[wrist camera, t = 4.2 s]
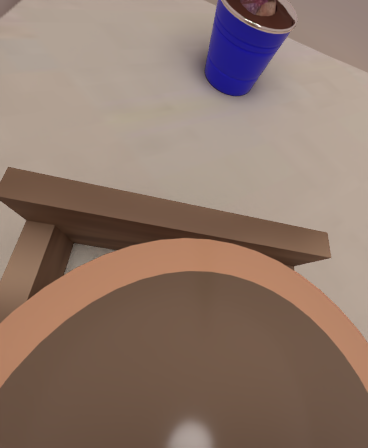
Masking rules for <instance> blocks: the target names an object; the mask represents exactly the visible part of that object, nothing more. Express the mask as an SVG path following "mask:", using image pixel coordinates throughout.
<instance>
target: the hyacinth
mask: <svg viewBox="0 0 368 448" xmlns="http://www.w3.org/2000/svg"><path fill="white" fill-rule="evenodd" d="M296 24H297V14H296V11H295V9H294V8H293V6H292V5H291V3H290V2H289V1H288V0H218V3H217V9H216V13H215V19H214V24H213V29H212V35H211V40H210V45H209V51H208V56H207V62H206V67H205V75H206V78H207V79H208V81H209V82H210V84H211V85H212V86H213V87H215V88H216V89H217V90H219V91H221V92H223V93H225V94H228V95H232V96H241V95H245V94H246V93H248V92H249V91H250V89H251V88H252V86H253V85H254V83H255V82H256V80H257V79H258V78H259V76H260V75H261V73H262V72H263V71H264V69H265V68H266V66H267V65H268V63H269V62H270V60H271V59H272V57H273V56H274V54H275V53H276V51H277V50H278V48H279V47H280V46H281V44H282V43H283V42H284V40H285V39H286V37H287V36H288V34H289V33H290V32H291V31H292V30H293V29H294V28H295V26H296Z"/></svg>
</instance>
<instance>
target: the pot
mask: <svg viewBox="0 0 368 448" xmlns="http://www.w3.org/2000/svg"><path fill="white" fill-rule="evenodd" d="M0 448H368V343H367V341H366V340H365V338H364V337H363V336H362V334H361V333H360V331H359V330H358V329H357V328H356V327H355V326H354V324H353V323H352V322H351V321H350V320H349V319H348V317H347V316H346V315H345V314H344V313H343V312H342V310H341V309H340V308H339V307H338V306H337V305H335V304H334V303H333V302H332V301H331V300H330V299H329V298H328V297H327V296H326V295H325V294H324V293H323V292H322V291H321V290H320V289H318V288H317V287H316V286H314V285H313V284H312V283H311V282H309V281H308V280H307V279H305V278H304V277H303V276H301V275H300V274H299V273H297V272H295V271H294V270H292V269H290V268H289V267H287V266H285V265H284V264H282V263H281V262H279V261H277V260H275V259H272V258H270V257H268V256H266V255H264V254H262V253H259V252H257V251H254V250H251V249H248V248H245V247H242V246H239V245H236V244H232V243H226V242H221V241H215V240H210V239H193V238H179V239H166V240H157V241H152V242H147V243H142V244H137V245H132V246H129V247H126V248H123V249H120V250H117V251H114V252H111V253H108V254H105V255H103V256H100V257H98V258H96V259H94V260H92V261H90V262H88V263H86V264H83V265H81V266H79V267H77V268H75V269H73V270H72V271H70V272H68V273H67V274H65V275H64V276H62V277H60V278H59V279H57V280H55V281H54V282H52V283H50V284H49V285H47V286H46V287H44V288H43V289H41V290H40V291H39V292H38V293H36V294H35V295H34V296H32V297H31V298H30V299H28V300H27V301H26V302H25V303H23V304H22V305H21V306H19V307H18V308H17V309H15V310H14V311H13V312H12V313H11V314H10V315H9V316H8V317H6V318H5V319H4V320H3V321H2V322H1V323H0Z"/></svg>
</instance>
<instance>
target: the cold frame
mask: <svg viewBox="0 0 368 448" xmlns="http://www.w3.org/2000/svg"><path fill="white" fill-rule="evenodd" d="M0 201H1V202H3V203H4V204H6V205H7V206H8V207H10V208H11V209H12V210H14V211H15V212H16V213H18V214H19V215H20V216H22V217H23V218H24V219H26V223H25V225H24V227H23V230H22V232H21V234H20V237H19V239H18V241H17V244H16V246H15V248H14V251H13V253H12V255H11V258H10V260H9V262H8V265H7V267H6V269H5V272H4V274H3V276H2V279H1V281H0V323H1V322H2V321H3V320H4V319H5V318H6V317H8V316H9V315H10V314H11V313H12V312H13V311H14V310H15V309H17V308H18V307H19V306H21V305H22V304H23V303H25V302H26V301H27V300H28V299H30V298H31V297H32V296H34V295H35V294H36V293H38V292H39V291H40V290H41V289H43V288H44V287H46V286H47V285H49V284H50V283H52V282H54V281H55V280H57V279H59V278H60V277H62V276H63V275H64V272H65V269H66V265H67V262H68V259H69V256H70V253H71V250H72V247H73V244H74V243H77V244H83V245H89V246H96V247H102V248H108V249H114V250H120V249H123V248H126V247H129V246H132V245H137V244H142V243H147V242H152V241H157V240H166V239H179V238H193V239H210V240H215V241H221V242H226V243H232V244H236V245H239V246H242V247H245V248H248V249H251V250H254V251H257V252H259V253H262V254H264V255H266V256H268V257H270V258H272V259H275V260H277V261H279V262H281V263H282V264H284V265H285V266H287V267H289V268H290V269H292V270H294V266H297V265H301V264H306V263H310V262H315V261H319V260H324V259H328V258H331V253H330V247H329V240H328V233H326V232H321V231H317V230H312V229H307V228H302V227H297V226H292V225H287V224H283V223H278V222H273V221H268V220H263V219H258V218H253V217H249V216H244V215H239V214H234V213H229V212H224V211H219V210H215V209H210V208H205V207H200V206H195V205H190V204H185V203H181V202H176V201H171V200H166V199H161V198H156V197H152V196H147V195H142V194H137V193H132V192H127V191H122V190H118V189H113V188H108V187H103V186H98V185H93V184H88V183H84V182H79V181H74V180H69V179H64V178H59V177H54V176H50V175H45V174H40V173H35V172H30V171H25V170H20V169H16V168H11V167H8V168H7V170H6V172H5V174H4V176H3V178H2V180H1V182H0Z"/></svg>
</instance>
